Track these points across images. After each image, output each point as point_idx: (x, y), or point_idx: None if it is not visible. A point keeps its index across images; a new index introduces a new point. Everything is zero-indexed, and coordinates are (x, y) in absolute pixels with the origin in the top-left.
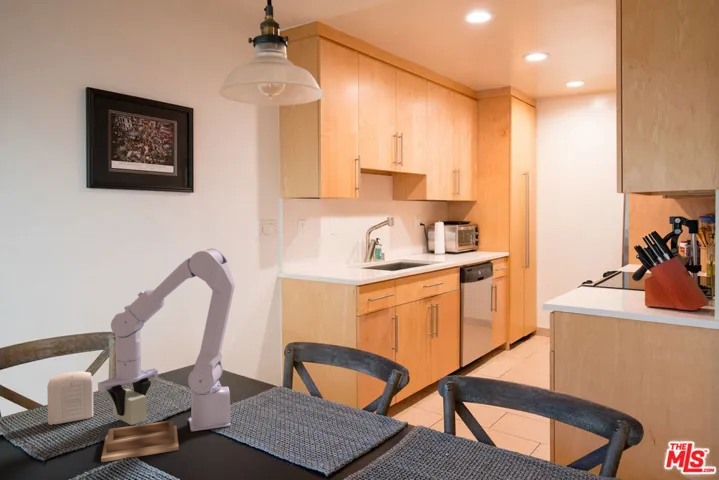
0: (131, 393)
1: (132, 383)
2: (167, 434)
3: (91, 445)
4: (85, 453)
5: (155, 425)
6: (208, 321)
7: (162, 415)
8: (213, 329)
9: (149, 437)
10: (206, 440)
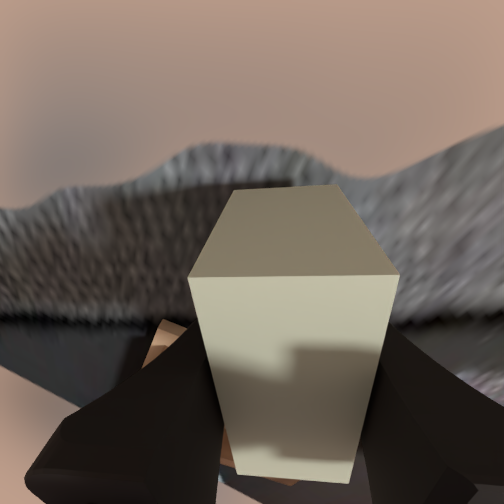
0: (316, 405)
1: (426, 441)
2: (277, 479)
3: (114, 325)
4: (95, 352)
5: None
6: None
7: (440, 285)
8: None
9: (233, 466)
10: (358, 466)
